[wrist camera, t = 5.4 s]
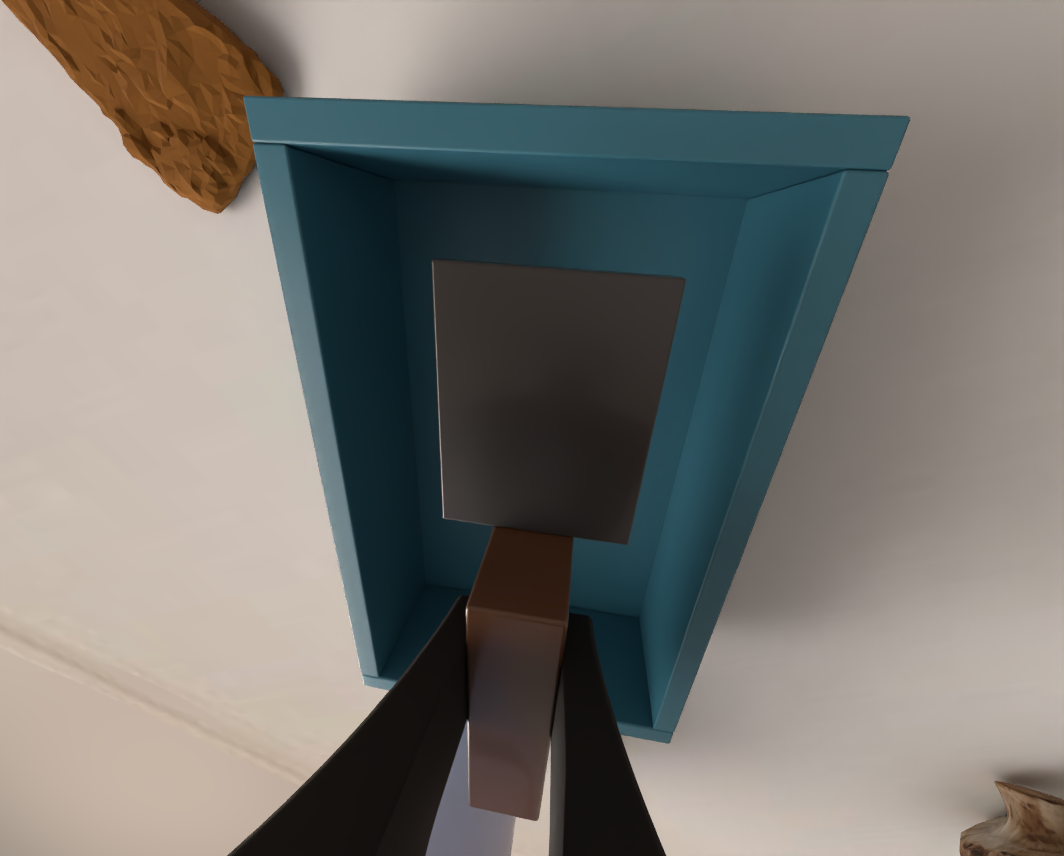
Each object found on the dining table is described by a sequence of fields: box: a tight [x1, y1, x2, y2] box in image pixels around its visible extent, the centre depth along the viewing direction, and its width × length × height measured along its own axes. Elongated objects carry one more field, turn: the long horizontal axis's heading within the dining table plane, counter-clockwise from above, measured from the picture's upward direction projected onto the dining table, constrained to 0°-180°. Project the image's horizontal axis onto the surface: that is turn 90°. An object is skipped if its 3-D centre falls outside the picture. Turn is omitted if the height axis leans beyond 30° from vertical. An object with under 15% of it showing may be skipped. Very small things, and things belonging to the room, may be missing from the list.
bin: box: [243, 96, 910, 744], centre depth 14 cm, size 20×13×6 cm, turn 177°
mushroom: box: [960, 781, 1064, 856], centre depth 20 cm, size 8×8×6 cm
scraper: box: [432, 258, 686, 821], centre depth 9 cm, size 14×5×3 cm, turn 176°
